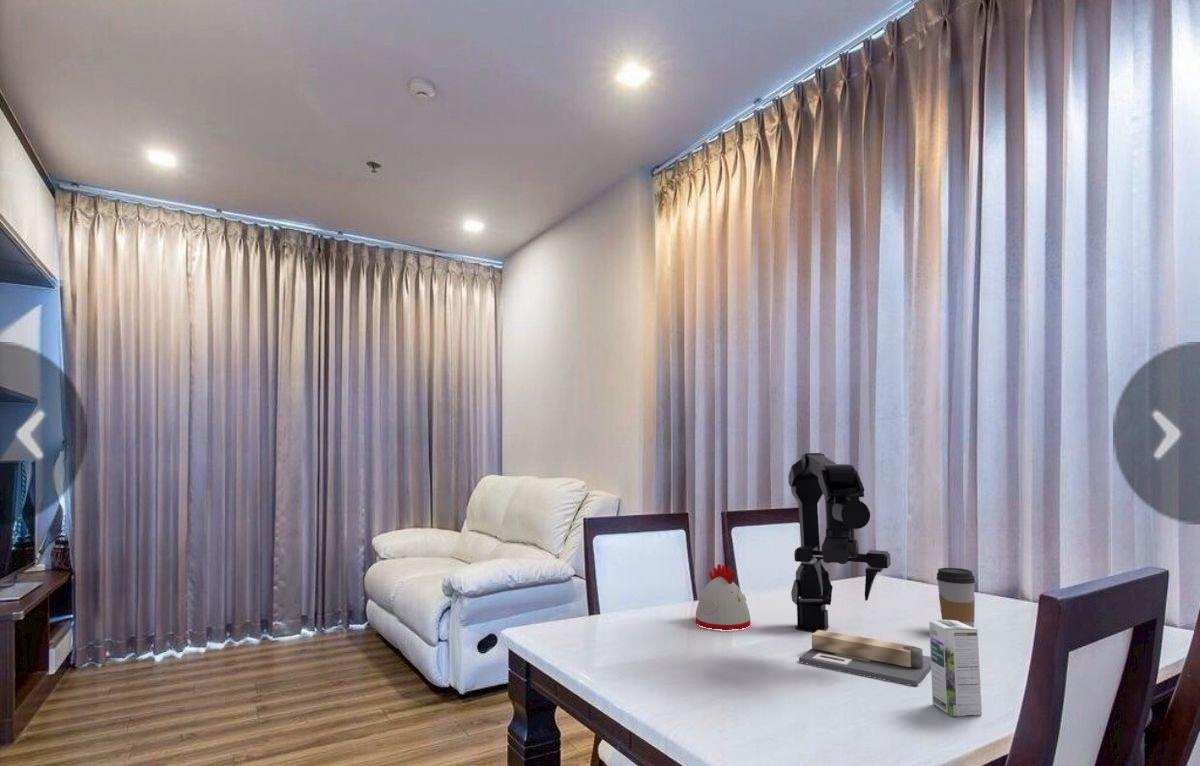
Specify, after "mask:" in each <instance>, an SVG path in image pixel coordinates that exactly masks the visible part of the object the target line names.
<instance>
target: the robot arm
mask: <svg viewBox="0 0 1200 766" xmlns="http://www.w3.org/2000/svg"><path fill="white" fill-rule="evenodd" d="M858 473H859V472H858V471H857V470H856V468H855V467H854V466H853V465H852V464H847V463H839V464H838V463H836V462H834V461H833V460H831V458H830V459H829V458H828V457H826V455H825V454H824V453H821V452H806V453H803V454H801V458H800V459H799V460H798V461H796V462H795V463H793V464H792V465H791V467H790V470H789V473H788V485H789V487H790V490H791V494H792V496H793V498H795V500H796V501H797V503H798V513H799V514H798V517H799V519H798V520H799V535H800V536H799V537H800V538H799V539H800V546H799V547H797V548H795V550H794V554H793V555H794V562H799V563H800V564H799V566H798V567H797V569H796V571H795V579H794V581H793V585H792V588H791V592H790V595H791V602H792V603H794V604H795V605H796V617H797V618H796V619H797V621H796V622H797V623H796V624H797V625H795V626H794V629H795V630H799V631H800V630H802V631H807V632H813V633H815V632H816V631H818V630H822V631H826V630H827V629H829V627H830V626H829V612H828V611H829V610H828V609H826V606H831V603H832V594H833V593H832V592H833V585H832V584H831V580H830V574H829V572H828V571H827V570H826V568H825V567H824V566H823V564H822V561H823V563H826V564H830V563H835V564H840V565H845V564H847V563H849V562H852V563H853V562H855V563H866V564H867V567H866V568H865V580H864V581H865V584H864V601H866V602H867V601H869V596H870V593H871V591H872V587H873V585H874V581H875V578H876V576H877V574H878V573H882V571H883V570H885V569H888V568H890V566H891V560H892V559H891V554H890V552H888V551H887V550H876V549H869V550H868V551H867V552H866V553H862V552H861V553H860V550H859V544H858V543H859V542H858V540H857V539H856V534H855V530H859V529H862V528H864V527H866V525H868V523H869V521H870V520H871V511H870V509H869V507H868V506H867V504H865V503H864V502H863V501H861V500H860V498H864V497H865V493H864V492H865V490H866V489H865V486H864V485H863V482H862V480H861V477H860V475H859V474H858ZM822 496H824V504H825V505H824V508H825V527H826V528H825V537H824V540H823V543H822V545H821V544H820V543H821V542H820V528H819V527H820V526H819V507H818V506H819V505H818V503H819V502H820V500H821V498H822ZM821 560H822V561H821Z"/></svg>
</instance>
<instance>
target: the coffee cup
mask: <svg viewBox="0 0 1200 766" xmlns="http://www.w3.org/2000/svg"><path fill="white" fill-rule="evenodd" d="M936 580H937V587H938V599H939V607H940V613H941V620H955V621H959V622H961V623H963V624H966V625H968V626H970V627H972V628H975V613H976V612H975V609H976V608H975V605H976V604H975V603H976V601H975V599H976V598H975V583H976V580H975V575H974V573H973V571H972V570H969V569H966V568H965V569H964V568H958V567H957V568H956V567H941V568H938V569H937V573H936Z"/></svg>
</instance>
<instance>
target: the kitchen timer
mask: <svg viewBox="0 0 1200 766" xmlns="http://www.w3.org/2000/svg"><path fill="white" fill-rule="evenodd" d="M712 570H713V571H708V574H709V578H710V581H709V582H708V583H707V584H706V586H705V587H704V589H703V590H702V592H701V594H700V597H699V598H698V603H697V606H696V610H695V624H696V623H697V624H698V625H700V626H703V627H706V628H712V629H722V630H732V629H742V628H746V627H748V626H750V627H751V625H750V624H751V623H752V622H751V614H750V609H749V607H748V604H747V598H746V597H747V596H746V595H745V594H744V593H742V591H741V589H740V588H739V586H738V585H737V584H736V583H735V582H734V579H735V575H736V572H732V567H731V566H727V568H726V565H725V564H722V565H721V564H720V563H719V564H717V566H716V567H713V568H712ZM697 624H696V625H697ZM698 625H697V626H698Z"/></svg>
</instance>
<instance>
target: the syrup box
mask: <svg viewBox="0 0 1200 766" xmlns="http://www.w3.org/2000/svg"><path fill="white" fill-rule="evenodd" d="M928 625H929V645H930V646H929V649H930V651H929V652H930V657H931V670H930V672H931V673H930V674H931V692H932V693H931V696H932V700H931V701H932V705H933V706H935V705H936V707H937V708H938V709H940V710H941V711H943V712H945V714H947V715H948V716H949V717H951V716H957V717H964V716H963V715H974V716H982V715H983V712H982V709H983V708H982V707H983V706H982V694H981V688H982V687H981V674H980V673H981V672H980V671H981V670H980V654H979V653H980V652H979V651H980V649H979V633H978V628H976V627H974V628H972V627H970V626H968V625H966V624H963V623H961V622H959V621H955V620H942V619H934V620H929V624H928Z"/></svg>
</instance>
